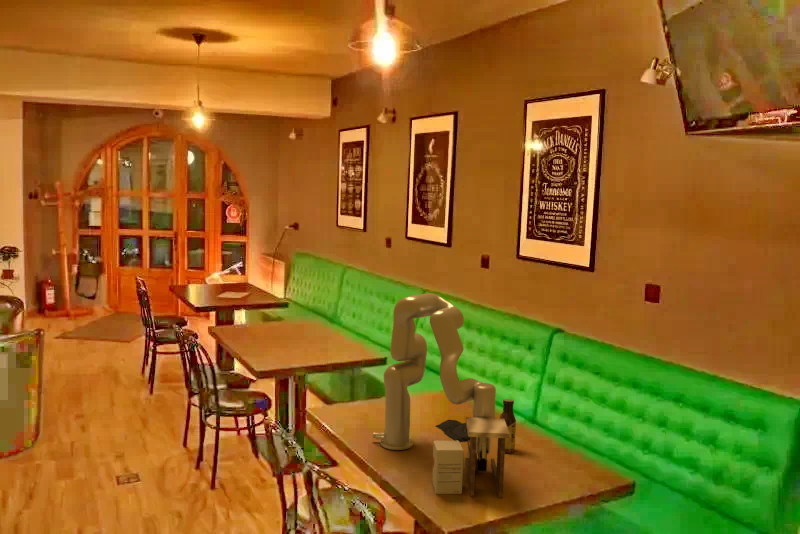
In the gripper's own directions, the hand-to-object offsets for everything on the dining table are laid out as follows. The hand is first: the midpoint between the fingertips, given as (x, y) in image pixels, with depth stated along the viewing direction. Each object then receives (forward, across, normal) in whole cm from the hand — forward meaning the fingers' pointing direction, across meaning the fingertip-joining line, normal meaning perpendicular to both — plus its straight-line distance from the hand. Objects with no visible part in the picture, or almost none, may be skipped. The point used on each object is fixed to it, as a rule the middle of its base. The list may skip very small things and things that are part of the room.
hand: (481, 470), depth 241 cm
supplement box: (+1, +14, -13) cm, 19 cm away
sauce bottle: (+1, -22, +11) cm, 25 cm away
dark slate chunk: (+2, -39, -6) cm, 40 cm away
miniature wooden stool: (+1, +12, 0) cm, 12 cm away
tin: (+1, -6, -3) cm, 7 cm away
